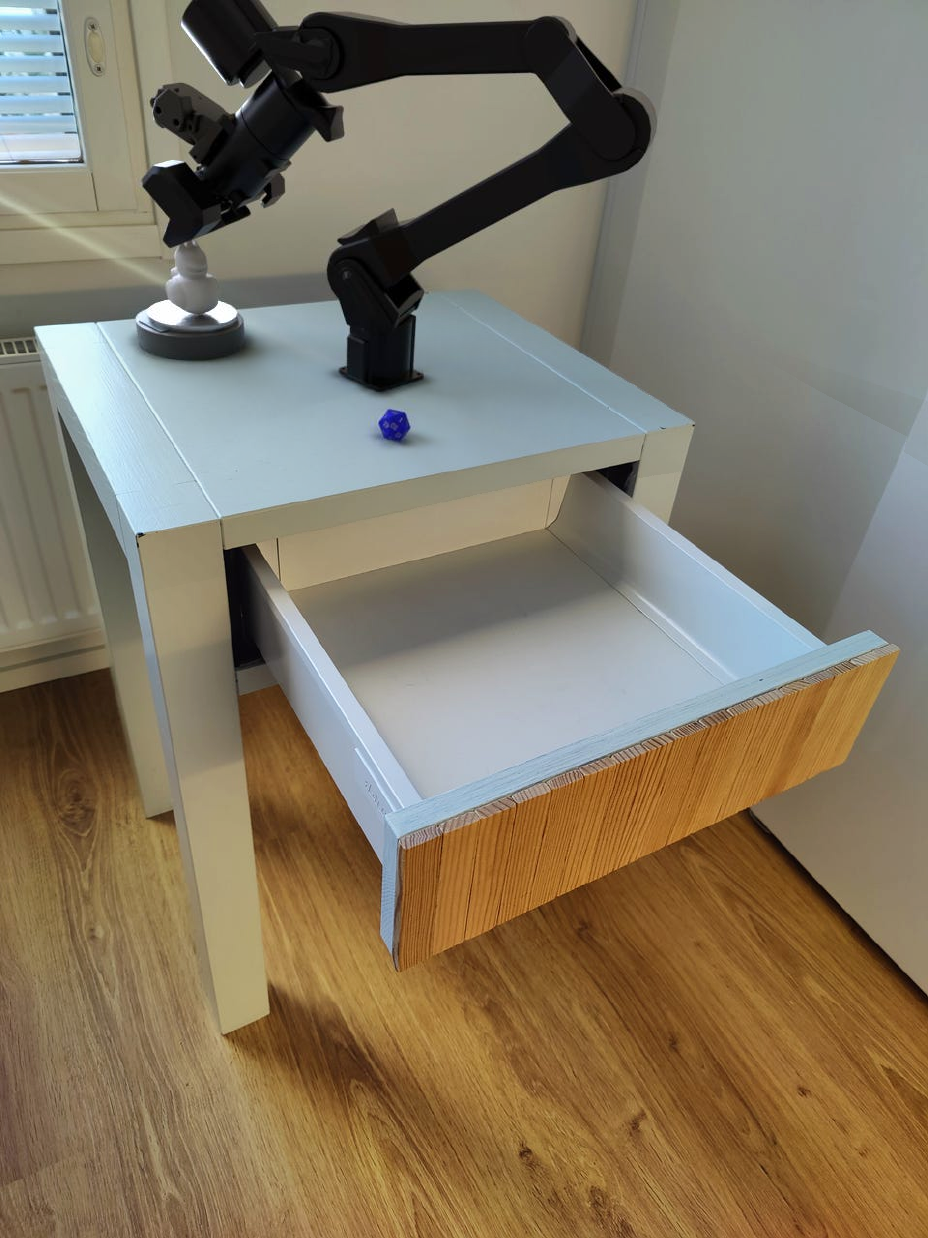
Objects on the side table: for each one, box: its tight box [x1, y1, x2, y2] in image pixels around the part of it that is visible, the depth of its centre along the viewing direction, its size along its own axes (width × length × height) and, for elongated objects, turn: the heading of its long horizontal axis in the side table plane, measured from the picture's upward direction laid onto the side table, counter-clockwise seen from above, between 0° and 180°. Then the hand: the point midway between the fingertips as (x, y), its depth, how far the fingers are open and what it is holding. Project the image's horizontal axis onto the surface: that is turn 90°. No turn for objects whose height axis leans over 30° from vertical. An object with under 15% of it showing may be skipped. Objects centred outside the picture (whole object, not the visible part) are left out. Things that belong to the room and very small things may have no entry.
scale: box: [135, 299, 246, 361], centre depth 92 cm, size 11×11×3 cm
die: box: [377, 408, 411, 442], centre depth 78 cm, size 3×3×3 cm
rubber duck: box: [165, 239, 221, 314], centre depth 89 cm, size 5×7×8 cm
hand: (171, 241), depth 88 cm, fingers closed on rubber duck
